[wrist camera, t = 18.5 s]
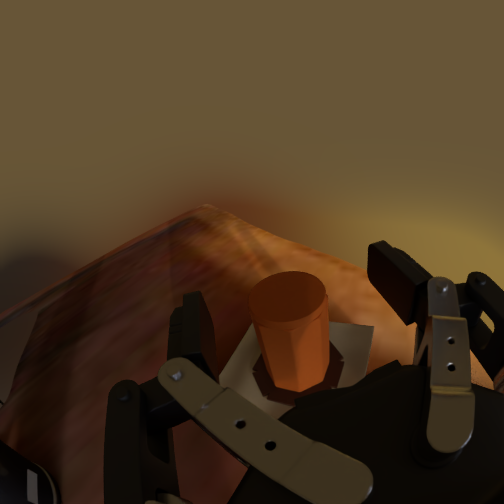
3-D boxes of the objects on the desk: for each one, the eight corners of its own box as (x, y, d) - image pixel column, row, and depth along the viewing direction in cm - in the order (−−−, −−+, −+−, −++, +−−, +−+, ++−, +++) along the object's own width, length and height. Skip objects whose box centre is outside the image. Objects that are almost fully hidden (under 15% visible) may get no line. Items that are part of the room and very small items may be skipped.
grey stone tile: (209, 416, 22) (200, 405, 21) (262, 326, 32) (258, 311, 31) (343, 454, 16) (345, 446, 15) (371, 341, 26) (374, 325, 25)
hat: (240, 392, 22) (208, 324, 17) (274, 330, 28) (258, 258, 23) (328, 414, 18) (329, 348, 14) (350, 341, 24) (352, 265, 20)
